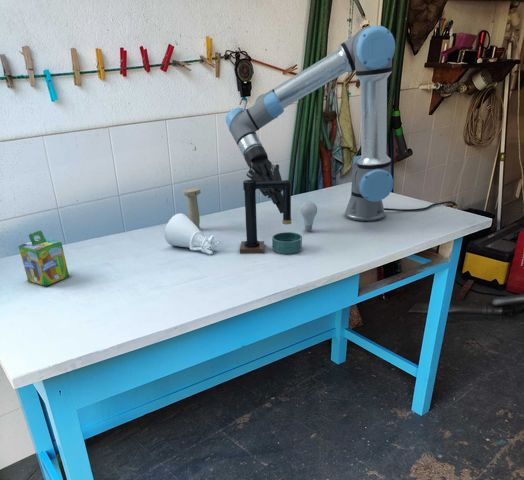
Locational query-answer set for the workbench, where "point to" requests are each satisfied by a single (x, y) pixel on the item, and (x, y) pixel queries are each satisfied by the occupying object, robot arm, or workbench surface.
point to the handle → (193, 205)
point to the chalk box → (43, 260)
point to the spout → (285, 184)
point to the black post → (251, 226)
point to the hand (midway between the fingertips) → (284, 210)
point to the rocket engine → (188, 235)
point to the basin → (287, 242)
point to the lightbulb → (308, 214)
